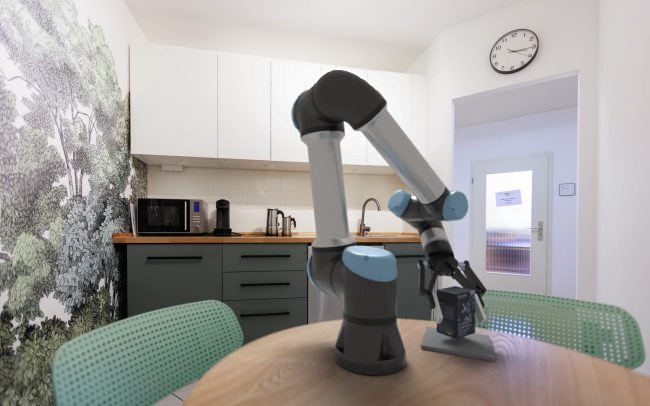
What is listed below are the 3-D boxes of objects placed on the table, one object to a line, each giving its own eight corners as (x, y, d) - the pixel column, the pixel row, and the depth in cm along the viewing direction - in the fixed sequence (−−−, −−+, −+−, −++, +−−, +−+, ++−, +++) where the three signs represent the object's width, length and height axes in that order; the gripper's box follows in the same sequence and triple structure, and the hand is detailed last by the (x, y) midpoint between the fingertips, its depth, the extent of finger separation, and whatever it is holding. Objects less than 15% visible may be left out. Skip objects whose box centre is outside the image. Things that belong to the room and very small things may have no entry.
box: (457, 340, 68) (456, 293, 69) (436, 332, 73) (435, 288, 74) (476, 333, 73) (475, 289, 73) (455, 326, 77) (454, 285, 78)
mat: (421, 348, 69) (421, 345, 69) (427, 329, 82) (426, 326, 82) (495, 361, 63) (494, 357, 63) (489, 338, 76) (488, 335, 76)
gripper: (470, 255, 89) (503, 329, 72) (396, 255, 89) (411, 328, 73) (479, 238, 84) (515, 313, 67) (400, 238, 85) (417, 312, 68)
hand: (461, 321), depth 70 cm, fingers closed on box, 9 cm apart
